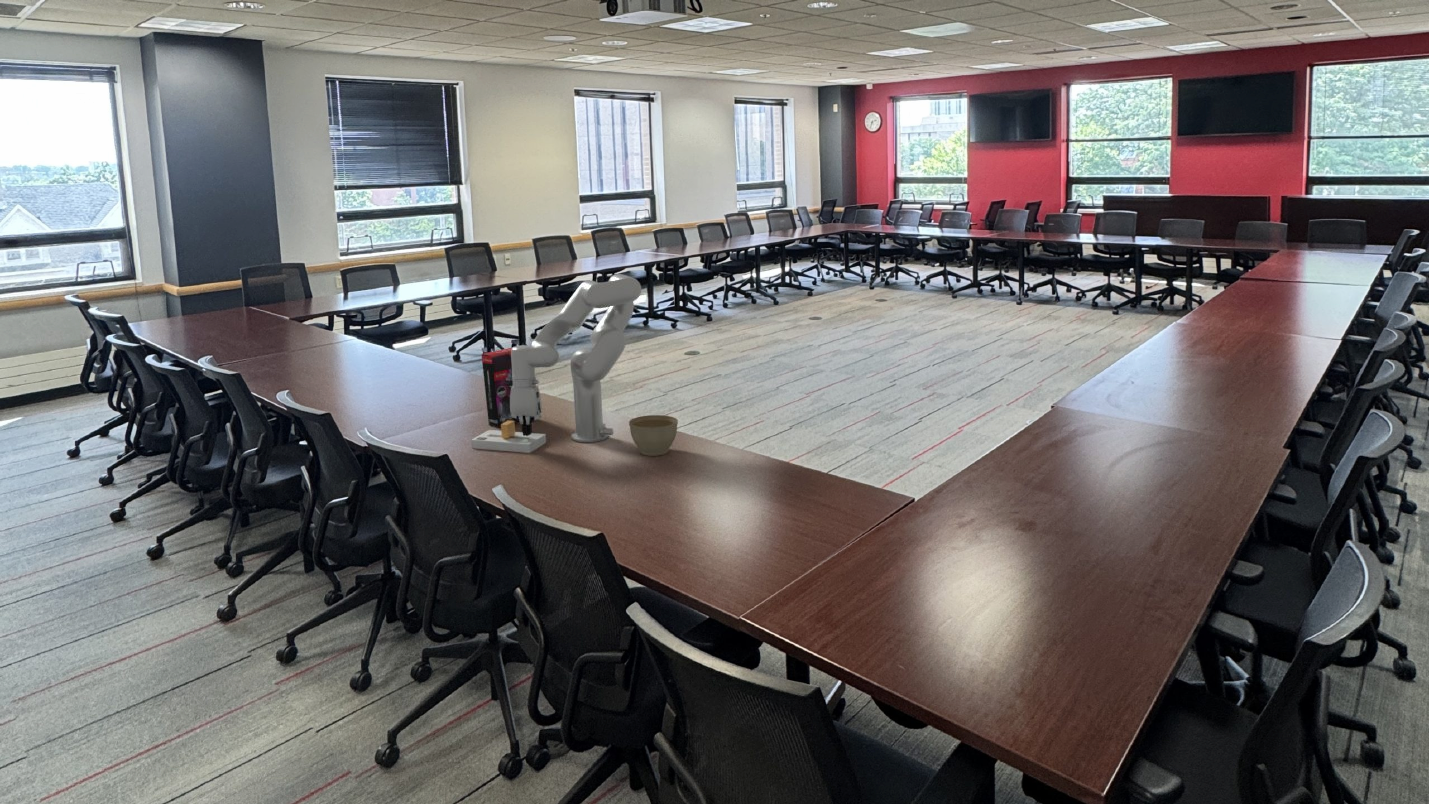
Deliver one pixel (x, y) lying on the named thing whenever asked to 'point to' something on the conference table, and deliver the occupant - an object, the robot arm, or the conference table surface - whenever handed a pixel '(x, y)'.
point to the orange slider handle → (508, 429)
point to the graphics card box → (498, 385)
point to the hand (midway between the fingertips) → (527, 434)
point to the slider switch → (508, 441)
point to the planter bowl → (653, 433)
